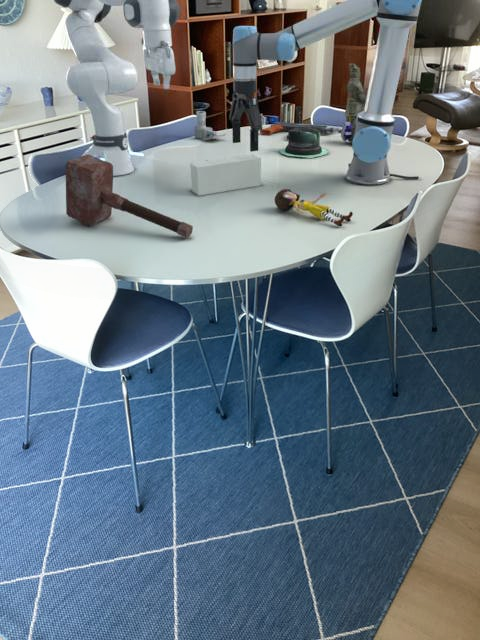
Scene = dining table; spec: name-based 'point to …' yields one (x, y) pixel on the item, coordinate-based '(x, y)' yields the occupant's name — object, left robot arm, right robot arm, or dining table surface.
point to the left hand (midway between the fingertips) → (161, 87)
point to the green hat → (304, 143)
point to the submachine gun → (291, 126)
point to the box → (225, 174)
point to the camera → (204, 128)
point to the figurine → (308, 206)
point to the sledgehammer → (105, 196)
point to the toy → (348, 132)
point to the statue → (354, 95)
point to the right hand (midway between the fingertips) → (245, 146)
